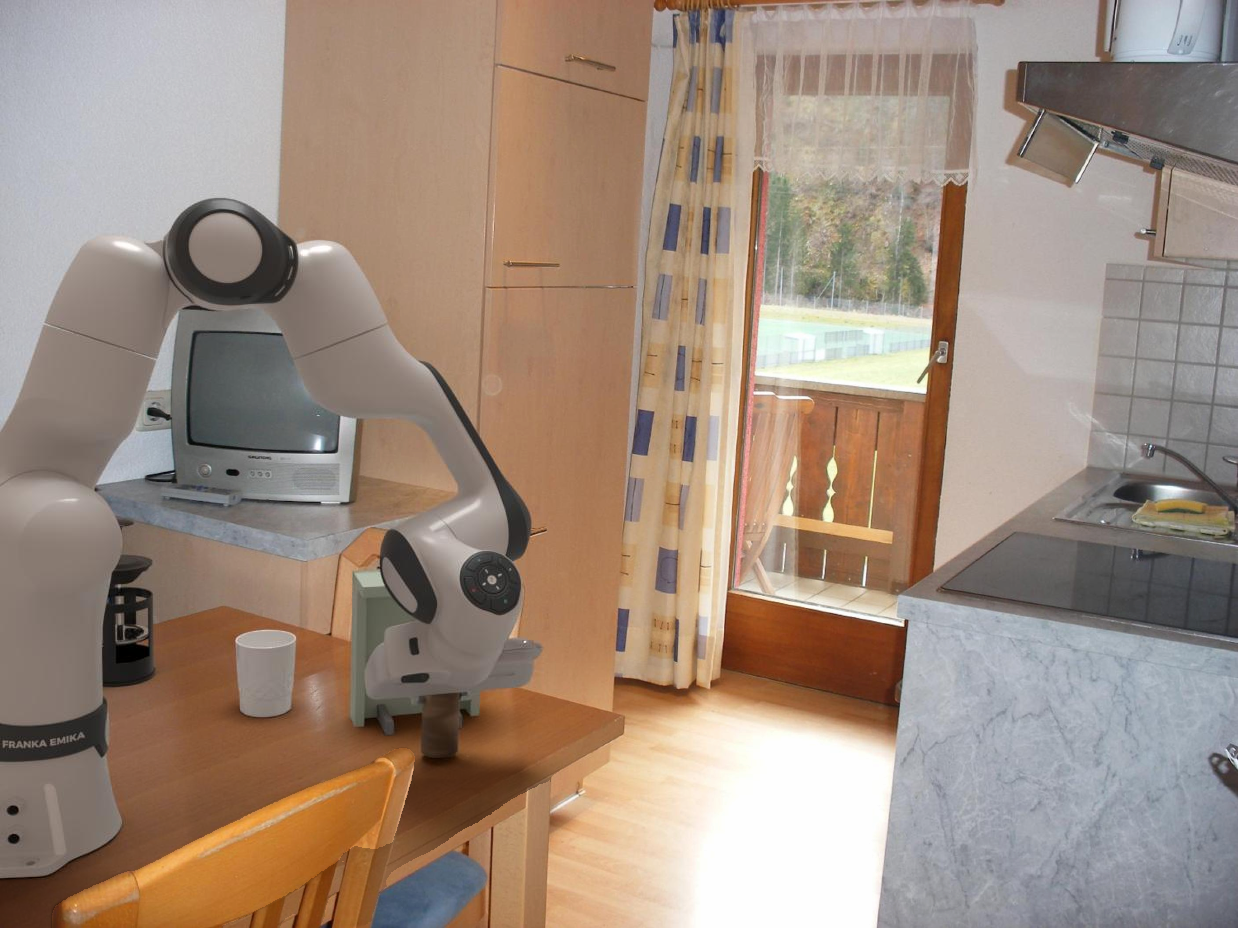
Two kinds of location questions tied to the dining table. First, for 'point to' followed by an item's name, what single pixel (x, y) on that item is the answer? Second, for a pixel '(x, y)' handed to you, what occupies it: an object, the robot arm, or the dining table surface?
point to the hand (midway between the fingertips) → (439, 697)
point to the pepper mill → (440, 725)
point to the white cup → (265, 672)
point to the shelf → (368, 628)
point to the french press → (127, 625)
